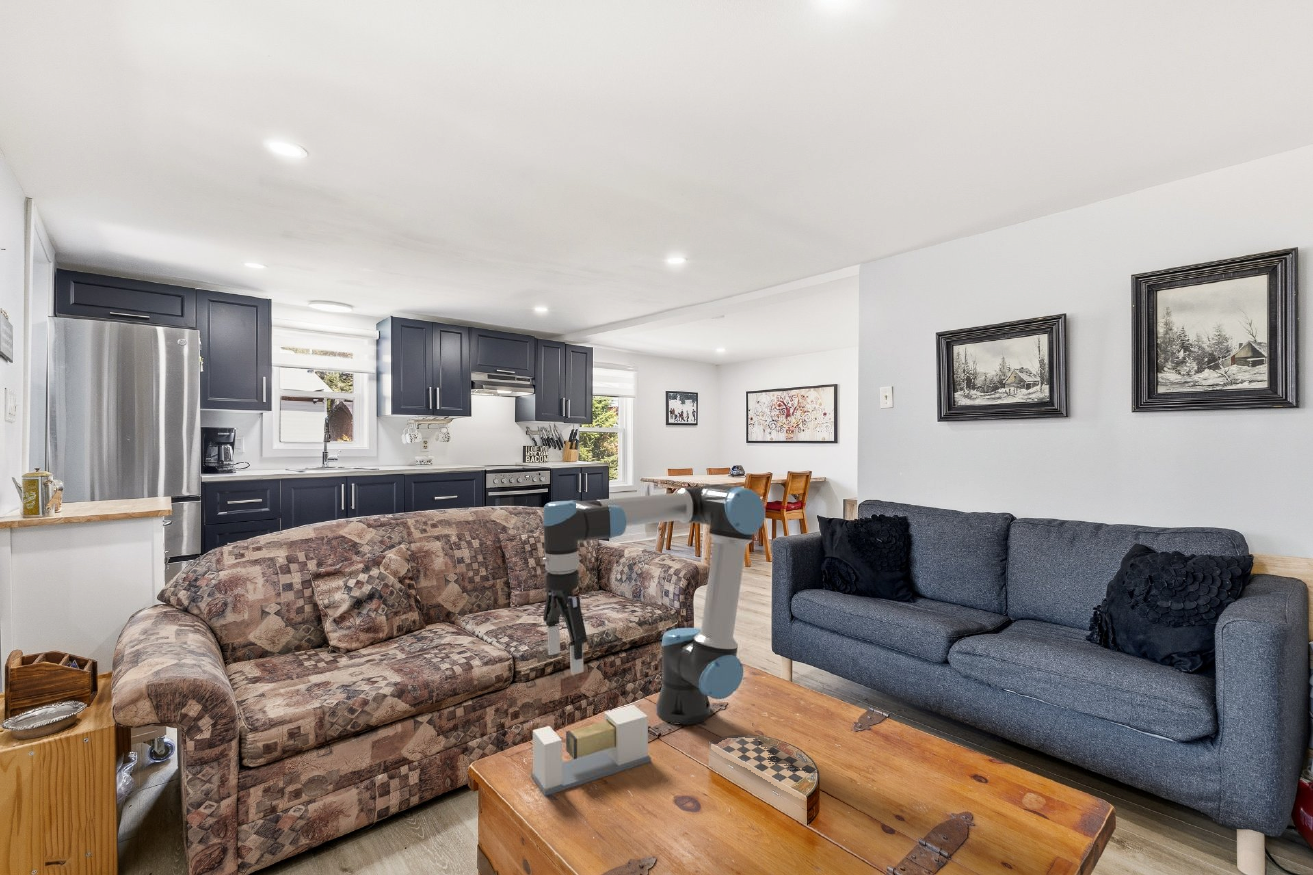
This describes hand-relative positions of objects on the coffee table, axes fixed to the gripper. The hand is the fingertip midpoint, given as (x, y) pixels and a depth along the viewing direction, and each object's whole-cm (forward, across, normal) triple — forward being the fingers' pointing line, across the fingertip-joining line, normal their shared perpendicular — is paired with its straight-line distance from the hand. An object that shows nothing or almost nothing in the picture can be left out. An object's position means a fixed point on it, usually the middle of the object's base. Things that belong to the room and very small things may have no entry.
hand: (565, 662), depth 139 cm
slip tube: (+22, 0, +9) cm, 24 cm away
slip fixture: (+26, 0, +6) cm, 27 cm away
